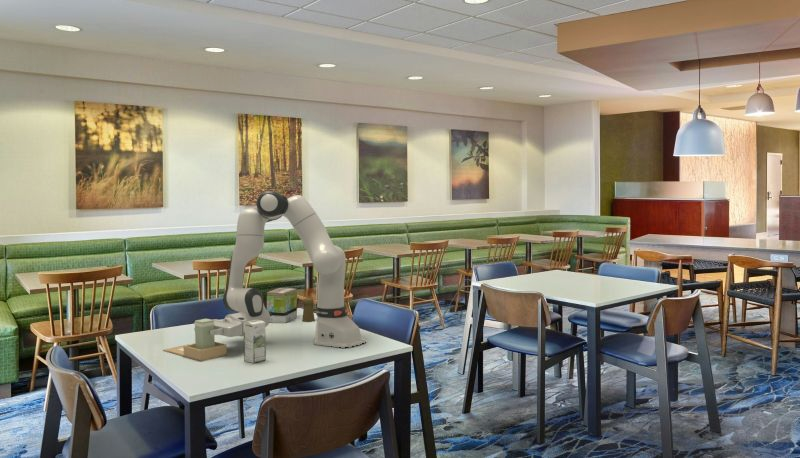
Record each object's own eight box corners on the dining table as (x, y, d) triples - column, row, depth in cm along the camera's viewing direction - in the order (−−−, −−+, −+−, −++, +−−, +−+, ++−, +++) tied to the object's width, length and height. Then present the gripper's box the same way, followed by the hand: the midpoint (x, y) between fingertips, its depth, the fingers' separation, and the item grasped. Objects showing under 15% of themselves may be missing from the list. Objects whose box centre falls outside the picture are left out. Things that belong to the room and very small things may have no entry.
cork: (302, 322, 293) (302, 299, 293) (301, 320, 299) (300, 297, 299) (315, 321, 295) (315, 298, 294) (313, 319, 301) (313, 296, 300)
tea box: (286, 323, 292) (285, 292, 291) (266, 322, 294) (265, 292, 293) (297, 317, 306) (297, 287, 306) (278, 316, 308) (278, 287, 308)
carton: (215, 354, 234) (214, 320, 233) (203, 356, 230) (202, 322, 229) (207, 352, 237) (206, 318, 237) (195, 354, 233) (194, 320, 233)
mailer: (226, 354, 234) (226, 344, 234) (200, 361, 226) (200, 350, 226) (188, 345, 251) (188, 335, 251) (163, 350, 242) (162, 340, 242)
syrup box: (256, 357, 230) (255, 319, 229) (266, 360, 226) (265, 321, 225) (243, 361, 226) (242, 321, 225) (253, 363, 222) (252, 323, 221)
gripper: (217, 314, 250) (186, 319, 239) (249, 320, 237) (218, 326, 226) (218, 329, 250) (187, 336, 239) (249, 336, 237) (218, 343, 226)
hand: (202, 331), depth 232 cm, fingers open, 8 cm apart
